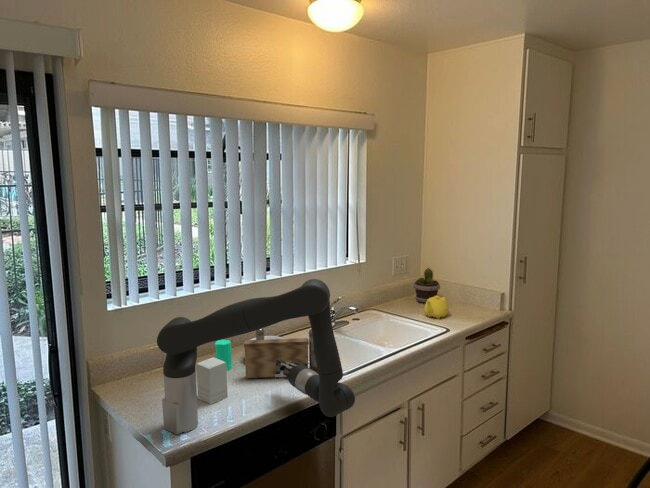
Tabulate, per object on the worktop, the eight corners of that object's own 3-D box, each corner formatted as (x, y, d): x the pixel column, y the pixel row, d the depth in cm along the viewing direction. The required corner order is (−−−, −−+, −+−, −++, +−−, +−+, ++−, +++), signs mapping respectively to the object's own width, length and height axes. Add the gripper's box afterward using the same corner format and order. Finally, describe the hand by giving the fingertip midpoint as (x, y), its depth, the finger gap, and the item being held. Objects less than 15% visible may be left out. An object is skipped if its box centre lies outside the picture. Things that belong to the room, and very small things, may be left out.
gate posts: (321, 378, 186) (321, 331, 183) (252, 378, 187) (251, 330, 184) (322, 370, 193) (322, 324, 190) (255, 370, 194) (254, 324, 191)
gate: (308, 371, 191) (307, 337, 189) (308, 375, 187) (308, 341, 185) (245, 374, 188) (244, 340, 186) (245, 378, 185) (244, 343, 183)
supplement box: (228, 397, 172) (227, 362, 170) (210, 405, 167) (208, 368, 164) (215, 390, 177) (213, 356, 175) (197, 398, 171) (195, 362, 169)
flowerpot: (434, 306, 276) (436, 271, 273) (408, 302, 284) (409, 268, 281) (443, 300, 289) (444, 266, 285) (418, 296, 297) (419, 263, 293)
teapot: (435, 323, 249) (436, 301, 247) (416, 318, 257) (417, 297, 255) (454, 314, 262) (454, 294, 260) (435, 310, 270) (436, 291, 268)
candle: (228, 371, 193) (227, 341, 191) (213, 370, 194) (212, 340, 192) (234, 365, 199) (233, 336, 197) (219, 364, 200) (218, 335, 198)
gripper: (323, 364, 164) (294, 347, 177) (288, 373, 156) (261, 355, 170) (322, 386, 165) (294, 368, 179) (287, 396, 157) (261, 376, 171)
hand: (278, 362), depth 174 cm, fingers closed
